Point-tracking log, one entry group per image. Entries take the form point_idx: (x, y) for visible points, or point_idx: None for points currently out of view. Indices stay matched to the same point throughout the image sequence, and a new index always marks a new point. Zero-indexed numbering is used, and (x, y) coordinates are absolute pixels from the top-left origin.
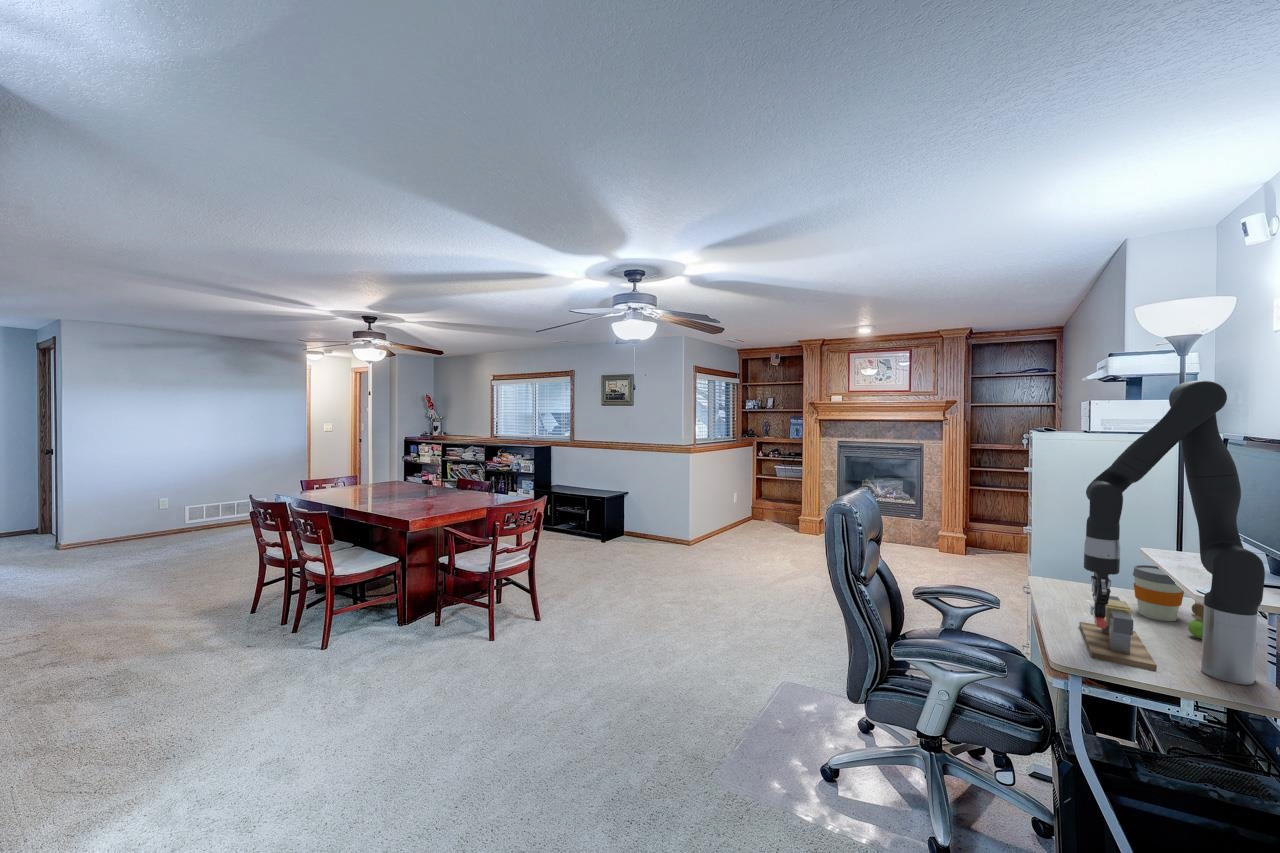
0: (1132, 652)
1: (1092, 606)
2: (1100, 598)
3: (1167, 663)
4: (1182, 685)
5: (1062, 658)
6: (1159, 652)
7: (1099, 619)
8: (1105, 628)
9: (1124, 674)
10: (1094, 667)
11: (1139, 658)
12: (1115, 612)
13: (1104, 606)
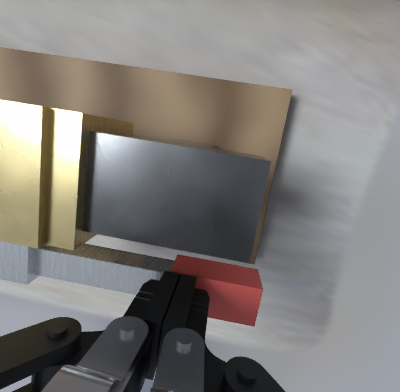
0: (191, 130)
1: (18, 276)
2: (130, 378)
3: (195, 28)
4: (394, 54)
5: (289, 335)
6: (92, 16)
7: (236, 310)
8: (256, 270)
9: (358, 206)
10: (330, 272)
11: (245, 127)
12: (130, 214)
13: (187, 325)
